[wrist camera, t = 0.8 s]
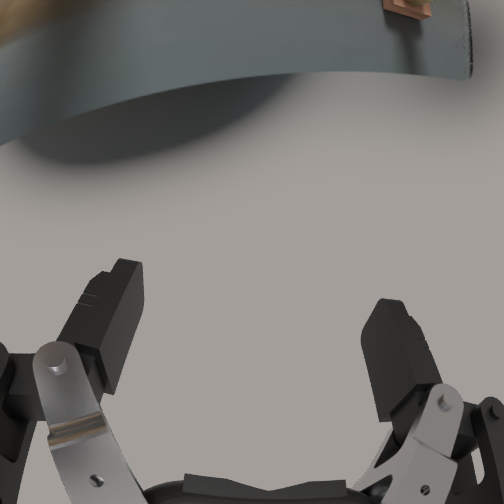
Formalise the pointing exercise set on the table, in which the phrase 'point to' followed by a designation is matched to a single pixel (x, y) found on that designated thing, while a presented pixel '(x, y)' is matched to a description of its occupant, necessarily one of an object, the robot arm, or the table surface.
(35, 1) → the table surface
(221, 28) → the table surface
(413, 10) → the marking gauge
